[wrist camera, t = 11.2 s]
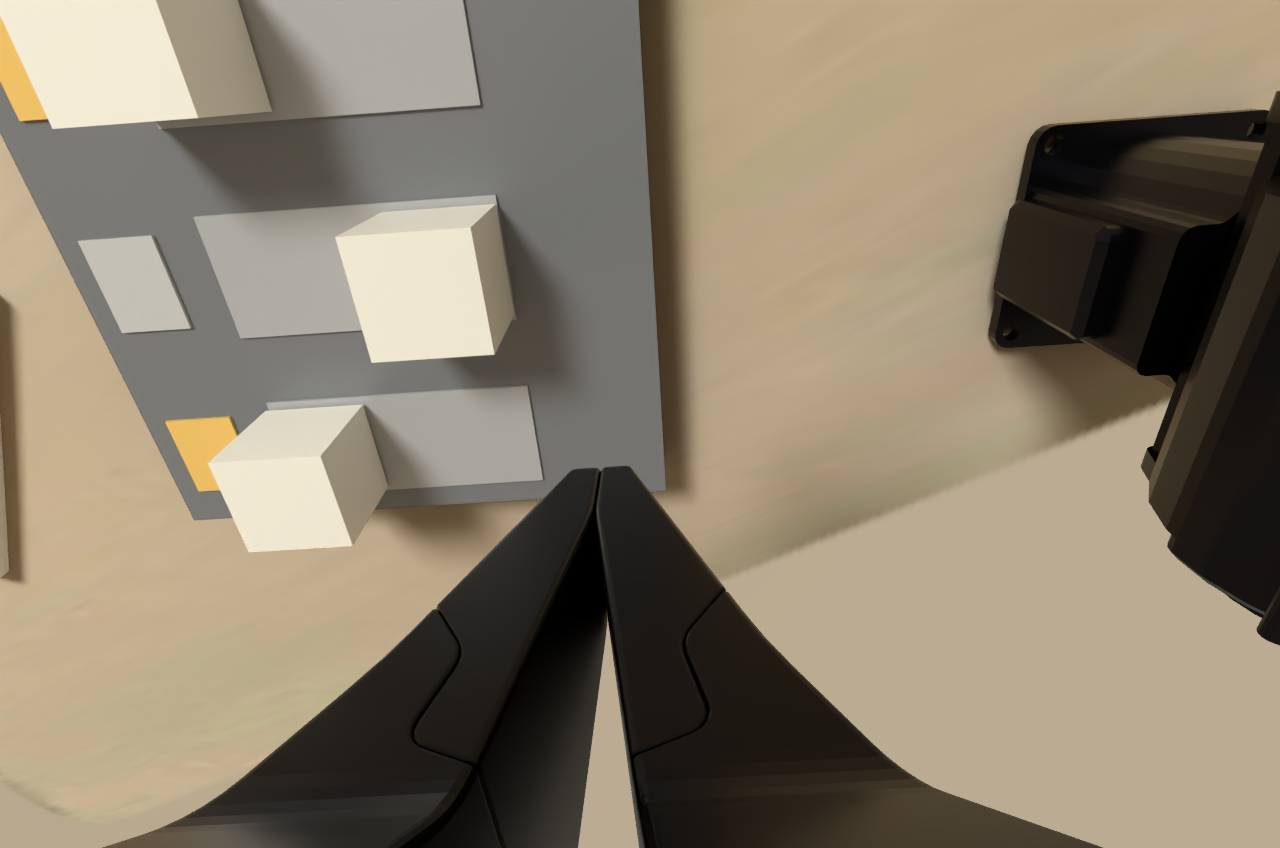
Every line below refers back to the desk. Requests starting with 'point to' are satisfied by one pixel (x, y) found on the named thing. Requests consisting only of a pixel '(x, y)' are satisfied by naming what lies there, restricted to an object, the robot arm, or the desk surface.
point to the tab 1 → (136, 59)
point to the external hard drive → (3, 517)
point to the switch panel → (354, 192)
